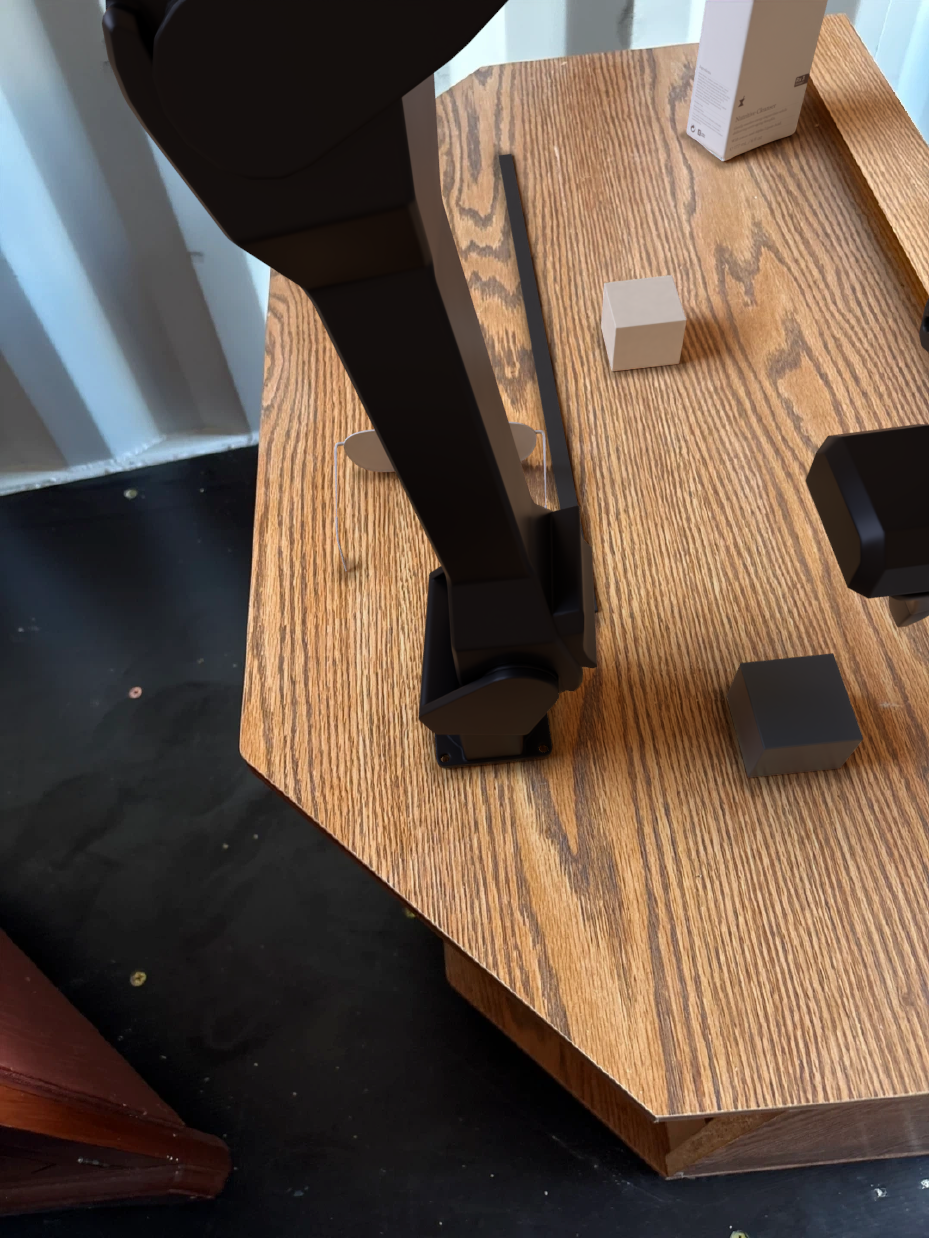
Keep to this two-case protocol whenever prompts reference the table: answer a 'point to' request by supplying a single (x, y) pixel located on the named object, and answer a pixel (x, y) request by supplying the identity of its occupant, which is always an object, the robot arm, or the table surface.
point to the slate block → (792, 715)
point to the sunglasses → (373, 457)
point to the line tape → (539, 343)
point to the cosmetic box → (752, 72)
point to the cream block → (642, 323)
